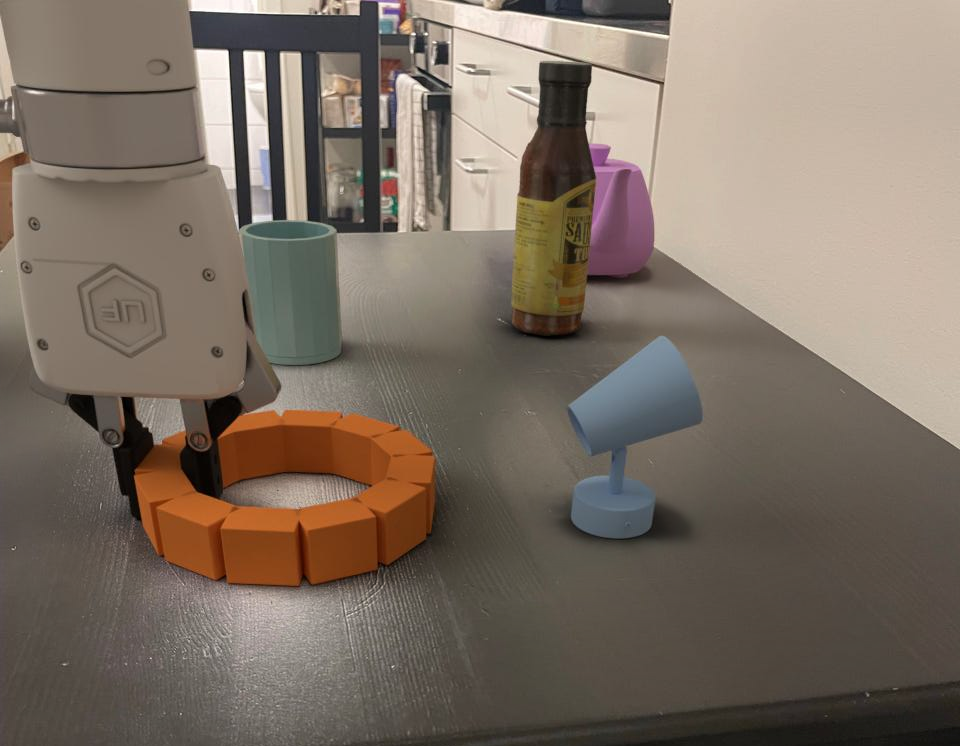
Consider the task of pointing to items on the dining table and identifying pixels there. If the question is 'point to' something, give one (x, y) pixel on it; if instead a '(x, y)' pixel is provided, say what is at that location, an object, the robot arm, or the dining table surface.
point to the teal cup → (294, 289)
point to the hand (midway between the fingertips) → (175, 505)
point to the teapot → (619, 217)
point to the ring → (282, 531)
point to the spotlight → (629, 435)
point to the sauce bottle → (555, 207)
